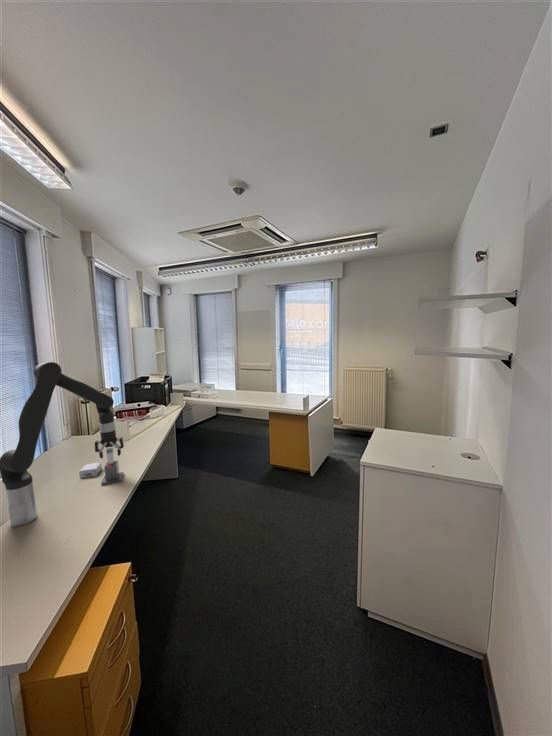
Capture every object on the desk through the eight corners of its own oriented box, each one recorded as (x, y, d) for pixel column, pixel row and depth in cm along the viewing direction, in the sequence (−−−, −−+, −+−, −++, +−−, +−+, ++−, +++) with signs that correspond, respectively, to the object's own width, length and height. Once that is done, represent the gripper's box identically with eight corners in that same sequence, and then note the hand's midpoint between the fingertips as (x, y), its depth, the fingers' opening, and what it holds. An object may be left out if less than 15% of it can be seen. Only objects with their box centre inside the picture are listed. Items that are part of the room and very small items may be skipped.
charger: (104, 465, 188) (97, 476, 174) (88, 467, 186) (79, 478, 171) (104, 458, 187) (96, 468, 173) (88, 460, 185) (78, 471, 171)
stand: (121, 482, 165) (119, 465, 164) (101, 485, 162) (99, 468, 160) (123, 474, 174) (122, 458, 173) (105, 477, 171) (103, 461, 170)
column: (115, 477, 167) (112, 449, 165) (109, 478, 166) (106, 450, 164) (116, 474, 170) (113, 447, 168) (110, 475, 169) (107, 448, 167)
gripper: (91, 433, 158) (95, 461, 160) (120, 429, 163) (123, 457, 165) (95, 429, 165) (98, 456, 167) (122, 426, 170) (125, 452, 172)
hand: (110, 456), depth 166 cm, fingers open, 8 cm apart
